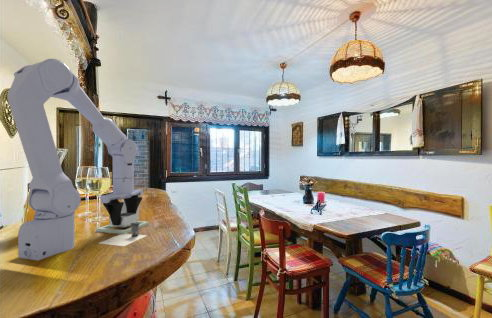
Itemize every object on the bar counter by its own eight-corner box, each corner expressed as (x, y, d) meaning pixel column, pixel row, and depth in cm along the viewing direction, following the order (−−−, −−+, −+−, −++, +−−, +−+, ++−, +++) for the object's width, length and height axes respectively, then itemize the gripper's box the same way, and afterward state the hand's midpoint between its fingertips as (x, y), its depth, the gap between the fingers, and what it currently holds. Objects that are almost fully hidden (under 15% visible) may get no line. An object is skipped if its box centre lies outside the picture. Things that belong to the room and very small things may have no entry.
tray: (124, 237, 65) (124, 231, 65) (96, 234, 67) (96, 228, 67) (148, 227, 74) (148, 221, 74) (123, 225, 77) (123, 219, 77)
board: (124, 250, 56) (124, 246, 56) (98, 247, 58) (98, 243, 58) (147, 239, 63) (146, 235, 63) (123, 236, 65) (123, 233, 65)
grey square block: (109, 226, 69) (109, 216, 69) (123, 221, 74) (123, 212, 74) (124, 227, 68) (124, 217, 68) (137, 222, 73) (137, 213, 73)
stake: (136, 237, 62) (136, 224, 62) (129, 236, 63) (128, 224, 63) (141, 235, 64) (141, 222, 64) (133, 234, 64) (133, 222, 64)
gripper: (114, 180, 63) (115, 230, 63) (150, 176, 77) (150, 217, 77) (94, 180, 65) (94, 228, 65) (132, 176, 79) (133, 216, 79)
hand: (123, 222), depth 71 cm, fingers closed on grey square block, 5 cm apart
